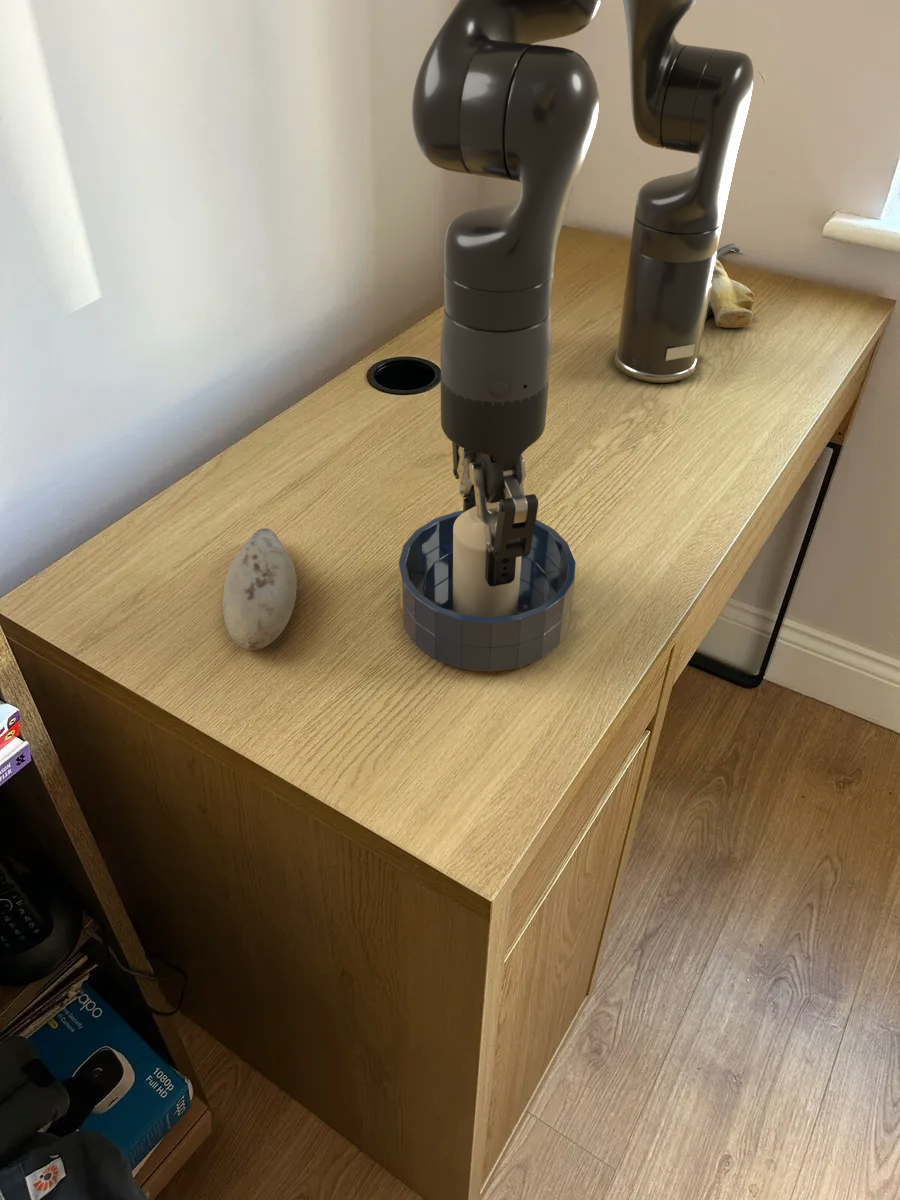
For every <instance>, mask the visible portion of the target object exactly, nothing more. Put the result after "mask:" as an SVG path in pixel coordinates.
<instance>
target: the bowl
mask: <svg viewBox="0 0 900 1200" xmlns="http://www.w3.org/2000/svg"><path fill="white" fill-rule="evenodd" d="M462 513H463V510H456V511H453V512H450V513H448V514H445V515H440V516H438V517H434V518H433V519H432V520H429V521H428V522H426V523H425V524H423V525H421V526H420V527H418V528H417V529H416V530H415V531H414V532H413V533H412V534H411V535H410V537H408V539H407V540H406V541H405V542H404V544H403V545H402V549H401V552H400V556H399V558H398V559H399V560H398V578H399V579H398V582H399V607H400V616H401V621H402V625H403V626H402V627H403V629H404V631H405V633H406V634H407V635H408V637H409V638H410V639H411V641H412V642H413V644H414V645H415V646H416V647H417V648H418V649H420V650H421V651H422V652H424V653H426V654H427V655H428V656H430V657H431V658H432V659H434V660H436V661H438V662H441V663H443V664H447V665H448V666H452V667H455V668H457V669H460V670H468V671H479V672H486V673H488V672H490V673H492V672H499V671H507V670H514V669H521V668H522V667H524V666H528V665H529V664H532V663H535V662H537V661H540V660H542V659H543V658H544V657H546V656H547V655H548V654H549V653H551V652H552V651H553V650H554V649H556V648H557V647H559V645H560V644H561V642H562V640H563V639H564V636H565V635H566V633H567V631H568V629H569V627H570V622H571V621H570V620H571V612H572V604H573V598H574V597H573V595H574V587H575V579H576V568H577V567H576V566H577V562H576V559H575V556H574V554H573V551H572V549H571V547H570V545H569V543H568V542H567V541H566V540H565V539H564V538H563V537H562V536H561V535H560V533H559V532H558V531H556V530H555V529H554V528H553V527H551V526H549V525H547V524H546V523H544V522H542V521H540V520H539V519H537V518H536V522H535V527H534V533H533V538H532V544H531V549H530V554H529V555H526V556H522V557H521V571H520V586H519V600H518V609H517V612H516V614H515V615H512V616H503V617H495V618H487V617H477V616H467V615H462V614H459V613H456V612H454V608H453V526H454V522H455V520H456V519H457V518H458V517H459V516H460V515H461V514H462Z"/></svg>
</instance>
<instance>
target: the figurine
mask: <svg viewBox="0 0 900 1200" xmlns="http://www.w3.org/2000/svg"><path fill="white" fill-rule="evenodd" d="M711 284H712V288H711V293H710V298H709V304H708V305H709V306H711V308H712V310H713V312H712V313H713V315H714V321H715V325H716V326H717V327H719V328H726V329H727V328H729V329H730V328H732V329H734V328H736V329H737V328H745V327H747V326H749V325H751V324H752V322H753V318H754V313H753V311H754V309H755V306H756V301H755V294H754V292H753V291H752V290H750V289H749V288H748V287H747V286H746V285H744V284H742V282H741V283H740V282H739V281H736V280H733V279H731V278H729V276H728V273H727V272H726V269H725V268H724V267H723V265H722V263H721V262H720V261H719V260H718V258H715V263H714V268H713V273H712V279H711Z"/></svg>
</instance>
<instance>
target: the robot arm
mask: <svg viewBox="0 0 900 1200" xmlns="http://www.w3.org/2000/svg"><path fill="white" fill-rule="evenodd" d="M602 2H603V0H458V1H457V3H456V5H455V6H454V7H453V9H452V11H451V13H450V14H449V15H448V17H447V18H446V20H445V21H444V23H443V24H442V26H441V28H440V29H439V31H438V32H437V34H436V35H435V37H434V39H433V40H432V42H431V44H430V46H429V47H428V49H427V51H426V53H425V55H424V58H423V60H422V63H421V65H420V68H419V70H418V73H417V77H416V79H415V83H414V87H413V91H412V99H411V124H412V130H413V134H414V137H415V138H414V139H415V141H416V143H417V145H418V147H419V150H420V152H421V154H422V155H423V156H424V157H425V159H426V160H427V161H429V163H431V164H432V165H434V166H436V167H437V168H440V169H443V170H446V171H448V172H454V173H460V174H461V173H462V174H466V175H474V176H480V177H486V178H487V177H488V178H494V179H501V180H508V181H514V182H518V183H520V184H521V185H520V187H521V188H520V189H521V191H520V196H519V197H520V198H519V201H517V202H513V203H506V204H495V205H494V204H493V205H486V206H480V207H474V208H472V209H467V210H465V211H463V212H461V213H459V214H458V215H456V216H455V217H454V218H453V219H452V220H451V221H450V223H449V225H448V227H447V229H446V232H445V236H444V244H443V245H444V248H443V292H444V293H443V301H444V302H443V318H442V324H441V325H442V326H441V332H440V426H441V429H442V431H443V433H444V435H445V436H446V437H447V438H448V440H449V441H451V444H452V464H453V465H452V467H453V469H452V474H453V476H454V478H455V479H456V480H459V488H458V492H459V494H460V496H461V498H462V501H463V502H462V511H463V513H464V512H465V511H467V510H469V509H471V508H473V507H475V506H476V510H477V517H478V519H480V520H481V521H482V522H483V523H484V525H485V535H486V569H485V579H486V581H487V583H488V585H489V586H498V585H503V584H508V583H511V582H513V580H514V579H515V565H516V557H520V556H526V555H529V554H530V549H531V544H532V538H533V533H534V527H535V522H536V519H537V516H538V510H539V499H538V497H537V496H536V494H535V493H531V494H525V491H524V480H525V479H526V475H527V474H526V473H527V472H526V463H525V462H526V461H525V458H524V456H523V454H524V452H525V451H526V450H528V449H529V448H530V447H531V446H532V445H534V444H535V443H536V442H537V441H539V439H540V438H541V437H542V435H543V433H544V431H545V428H546V420H547V411H548V410H547V408H548V396H549V384H550V372H551V371H550V370H551V358H552V348H553V347H552V345H553V336H552V335H553V334H552V333H553V332H552V319H551V318H552V317H551V315H552V297H553V287H554V286H553V285H554V272H555V263H556V253H557V248H558V247H557V246H558V243H559V238H560V234H561V231H562V227H563V224H564V223H563V222H564V218H565V217H566V216H565V215H566V212H567V209H568V205H569V202H570V198H571V196H572V193H573V190H574V187H575V185H576V182H577V179H578V177H579V174H580V172H581V169H582V166H583V165H584V161H585V159H586V156H587V154H588V151H589V148H590V146H591V143H592V140H593V137H594V133H595V130H596V128H597V123H598V118H599V112H600V96H599V90H598V84H597V81H596V78H595V75H594V72H593V70H592V68H591V66H590V65H589V63H588V61H586V59H585V58H584V57H583V56H582V55H581V54H580V53H578V52H577V51H575V50H573V49H570V48H566V47H561V46H553V45H546V44H545V45H544V44H535V43H540V42H544V41H552V40H556V39H562V38H566V37H568V36H572V35H575V34H577V33H579V32H581V31H582V30H584V29H585V28H587V27H588V26H589V25H590V23H591V22H592V21H593V19H594V18H595V17H596V15H597V14H598V10H599V8H600V6H601V4H602ZM696 2H698V0H622V4H623V9H624V15H625V17H624V18H625V24H626V33H627V45H628V61H629V62H628V63H629V83H630V84H629V85H630V86H629V87H630V99H631V100H630V102H631V114H632V121H633V126H634V129H635V132H636V134H637V136H638V138H639V140H640V141H642V142H643V143H644V144H646V145H648V146H651V147H655V148H659V149H665V150H669V151H676V152H681V153H688V154H695V155H698V161H697V165H696V166H695V167H693V168H691V169H689V170H686V171H683V172H680V173H674V174H670V175H665V176H660V177H657V178H655V179H652V180H649V181H648V182H646V183H644V184H643V186H641V187H640V189H639V190H638V193H637V196H636V203H635V209H634V219H633V225H632V232H631V240H630V249H629V257H628V262H627V263H628V264H627V272H626V280H625V286H624V294H623V301H622V302H623V303H622V309H621V316H620V324H619V331H618V339H617V347H616V349H615V353H614V354H615V355H614V363H615V365H616V368H618V369H619V371H620V372H622V373H623V374H624V375H626V376H628V377H630V378H633V379H635V380H639V381H643V382H647V383H648V382H649V383H657V384H658V383H659V384H666V383H674V382H679V381H682V380H684V379H687V378H689V377H690V376H691V375H692V374H693V373H694V372H695V371H696V366H697V360H698V359H699V355H700V349H701V344H702V339H703V333H704V329H705V325H706V324H705V323H706V320H707V319H708V317H709V316H710V315H711V314H712V313H714V312H713V310H712V308H711V306H710V304H709V298H710V293H711V288H712V284H711V279H712V273H713V268H714V263H715V258H717V259H719V257H721V256H722V255H724V253H726V252H728V251H730V250H731V251H732V250H734V252H736V253H740V252H741V251H742V250H741V247H740V246H739V245H738V247H736V243H729V244H726V245H724V246H722V247H721V248H719V249H718V246H719V242H720V236H721V231H722V226H723V221H724V217H725V216H724V215H725V211H726V207H727V206H726V205H727V202H728V197H729V192H730V188H731V184H732V179H733V173H734V169H735V164H736V160H737V157H738V156H737V155H738V152H739V147H740V143H741V139H742V136H743V132H744V127H745V124H746V120H747V117H748V113H749V108H750V103H751V98H752V94H753V93H752V92H753V86H754V65H753V62H752V60H751V59H752V58H750V56H749V55H748V54H746V53H745V52H741V51H735V50H730V49H729V50H728V49H721V48H720V49H719V48H713V47H706V46H698V45H697V46H696V45H691V44H690V45H689V44H683V43H680V42H679V41H678V40H677V38H676V37H675V34H674V33H675V31H676V29H677V28H678V25H679V24H680V22H681V21H682V20H683V18H684V17H685V16H686V15H687V13H688V12H689V11H690V10H691V9H692V8H693V7H694V5H695V4H696ZM487 502H488V503H499V506H497V508H494V509H487ZM496 522H497V526H496V533H495V524H496Z"/></svg>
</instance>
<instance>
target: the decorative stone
mask: <svg viewBox="0 0 900 1200" xmlns="http://www.w3.org/2000/svg"><path fill="white" fill-rule="evenodd" d="M297 586H298V580H297V572H296V568H295V565H294V562H293V559H292V557H291V554H290V553H289V552H288V550H287V549H286V547H285V545H284V544H283V543H282V541H281V540H280V539H279V537H278V534H276V533H275V532H274V530H272V529H271V528H266V527H265V528H264V527H263V528H259V529H257V530H256V532H254V533H253V534H252V535H251V537H250V538H249V539H248V540H247V541H246V542H245V543H244V544H243V545H242V547H241V548H240V550H239V551H238V552H237V554H236V555H235V557H234V559H232V562H231V564H230V566H229V568H228V569H227V573H226V576H225V580H224V583H223V591H222V614H223V620H224V624H225V627H226V629H227V632H228V635H230V637H231V639H232V640H233V641H234V642H235V643H236V644H237V645H238V646H240V647H241V648H243V649H246V650H248V651H250V650H251V651H257V650H260V649H263V648H265V647H267V646H269V645H270V644H272V643H273V642H274V641H275V640H276V639H277V638H278V637H279V636H280V635H281V634H282V632H283V631H284V629H285V628H286V626H287V625H288V623H289V621H290V619H291V617H292V614H293V612H294V608H295V604H296V599H297V589H298V587H297Z"/></svg>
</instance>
